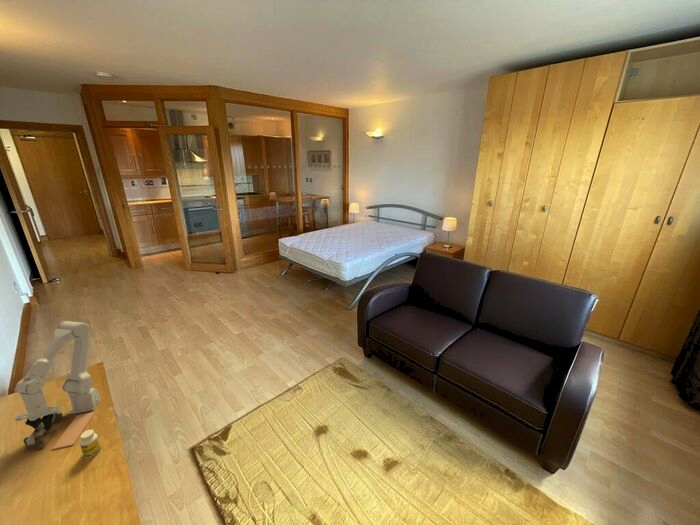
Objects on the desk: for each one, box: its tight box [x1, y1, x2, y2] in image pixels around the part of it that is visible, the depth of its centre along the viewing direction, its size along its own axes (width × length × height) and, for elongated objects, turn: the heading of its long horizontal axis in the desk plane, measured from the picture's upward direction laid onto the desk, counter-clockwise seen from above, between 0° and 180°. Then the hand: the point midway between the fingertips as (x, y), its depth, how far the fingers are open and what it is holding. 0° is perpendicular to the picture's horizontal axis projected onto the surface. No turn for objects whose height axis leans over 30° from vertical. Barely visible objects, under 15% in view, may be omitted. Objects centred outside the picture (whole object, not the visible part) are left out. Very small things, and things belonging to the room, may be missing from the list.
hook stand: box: [22, 411, 68, 454], centre depth 122 cm, size 17×6×5 cm, turn 19°
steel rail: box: [26, 413, 57, 445], centre depth 121 cm, size 16×2×2 cm, turn 19°
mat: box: [51, 411, 96, 451], centre depth 125 cm, size 7×18×1 cm, turn 18°
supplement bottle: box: [79, 429, 102, 459], centre depth 114 cm, size 5×5×10 cm
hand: (44, 429), depth 122 cm, fingers closed on steel rail, 2 cm apart
